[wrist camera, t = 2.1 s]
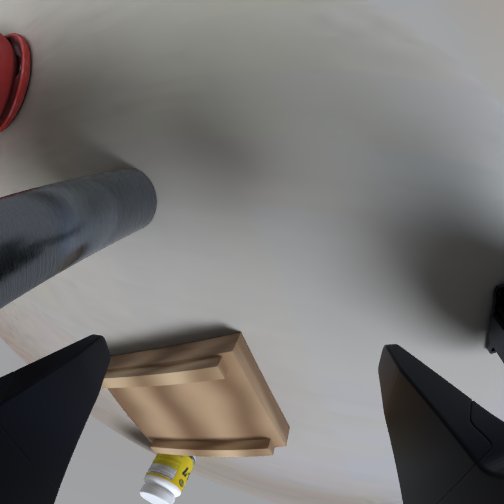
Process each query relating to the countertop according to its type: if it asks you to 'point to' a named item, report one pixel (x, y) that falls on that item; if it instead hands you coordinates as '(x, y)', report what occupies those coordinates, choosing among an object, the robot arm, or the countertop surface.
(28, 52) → the plant pot
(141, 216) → the slim bottle
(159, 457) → the supplement bottle
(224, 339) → the stand
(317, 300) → the countertop surface
